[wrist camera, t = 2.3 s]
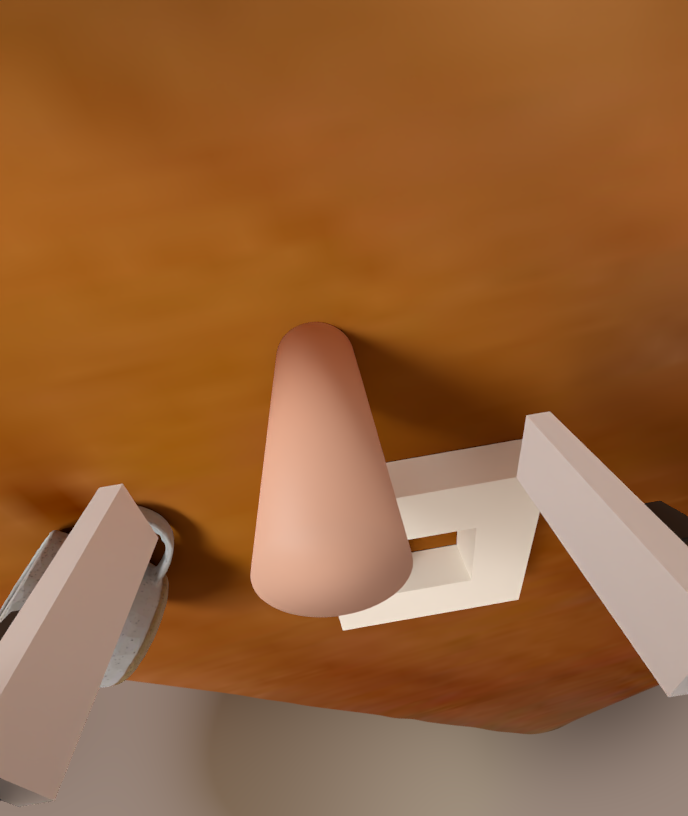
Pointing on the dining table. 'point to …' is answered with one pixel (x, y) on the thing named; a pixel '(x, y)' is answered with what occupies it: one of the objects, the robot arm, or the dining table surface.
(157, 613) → the ceramic mug
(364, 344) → the dining table surface
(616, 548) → the robot arm
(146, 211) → the dining table surface
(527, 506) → the socket block
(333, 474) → the peg
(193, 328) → the dining table surface
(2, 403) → the dining table surface
